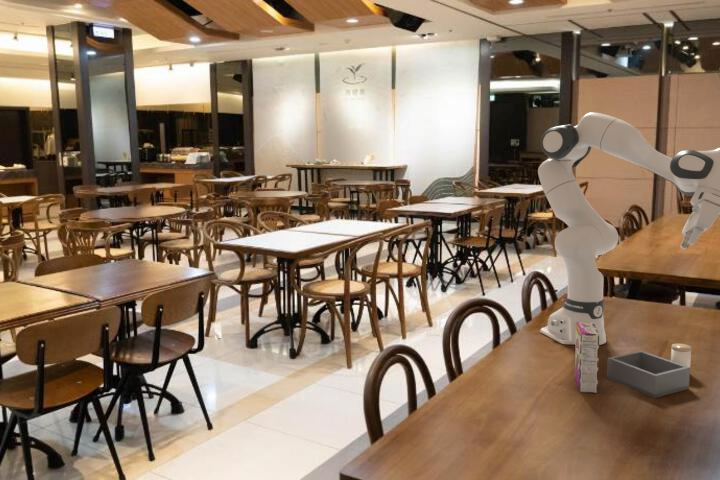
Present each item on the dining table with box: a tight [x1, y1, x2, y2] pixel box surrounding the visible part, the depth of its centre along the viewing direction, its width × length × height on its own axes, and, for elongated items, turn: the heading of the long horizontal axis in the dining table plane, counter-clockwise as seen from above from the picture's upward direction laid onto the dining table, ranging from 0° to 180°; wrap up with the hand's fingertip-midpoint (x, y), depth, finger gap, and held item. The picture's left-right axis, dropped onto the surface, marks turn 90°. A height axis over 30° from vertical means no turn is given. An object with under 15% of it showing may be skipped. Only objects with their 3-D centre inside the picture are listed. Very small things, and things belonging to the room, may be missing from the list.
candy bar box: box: [574, 322, 600, 394], centre depth 177 cm, size 11×5×16 cm, turn 168°
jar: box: [670, 343, 692, 368], centre depth 185 cm, size 5×5×8 cm
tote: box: [606, 350, 691, 399], centre depth 178 cm, size 16×13×6 cm
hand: (687, 246), depth 185 cm, fingers open, 8 cm apart
